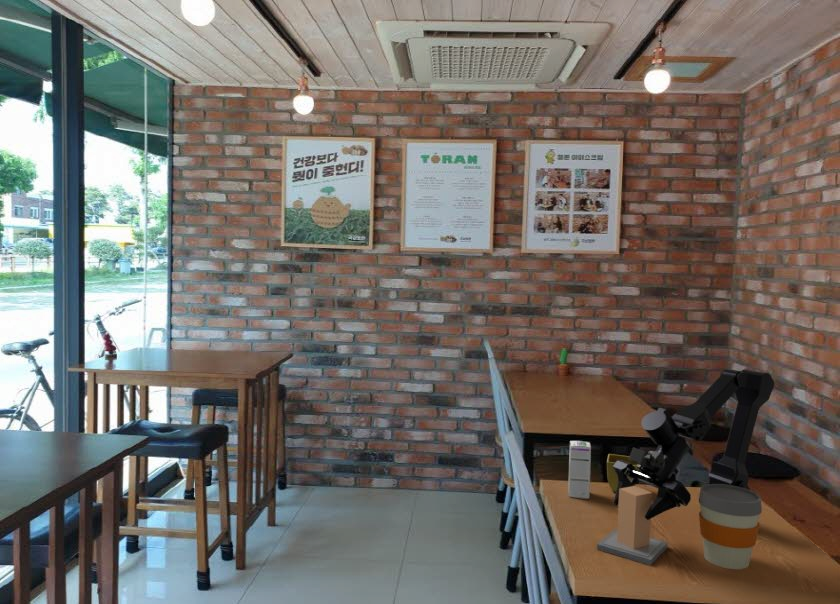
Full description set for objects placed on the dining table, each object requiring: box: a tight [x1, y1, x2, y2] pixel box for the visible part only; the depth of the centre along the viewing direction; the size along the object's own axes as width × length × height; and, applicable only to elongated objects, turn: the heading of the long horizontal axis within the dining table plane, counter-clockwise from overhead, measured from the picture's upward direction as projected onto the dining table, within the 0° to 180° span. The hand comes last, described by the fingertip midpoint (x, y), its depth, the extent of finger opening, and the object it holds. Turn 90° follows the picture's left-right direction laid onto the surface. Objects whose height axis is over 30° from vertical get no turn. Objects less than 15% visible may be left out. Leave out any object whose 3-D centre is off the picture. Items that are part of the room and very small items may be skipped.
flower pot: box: [606, 453, 640, 493], centre depth 188 cm, size 9×9×9 cm
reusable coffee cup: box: [698, 483, 763, 570], centre depth 145 cm, size 13×13×15 cm
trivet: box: [596, 527, 669, 566], centre depth 149 cm, size 12×12×1 cm
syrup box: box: [567, 440, 592, 500], centre depth 183 cm, size 6×6×14 cm
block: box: [616, 485, 653, 549], centre depth 149 cm, size 5×5×12 cm
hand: (630, 511), depth 148 cm, fingers open, 9 cm apart
